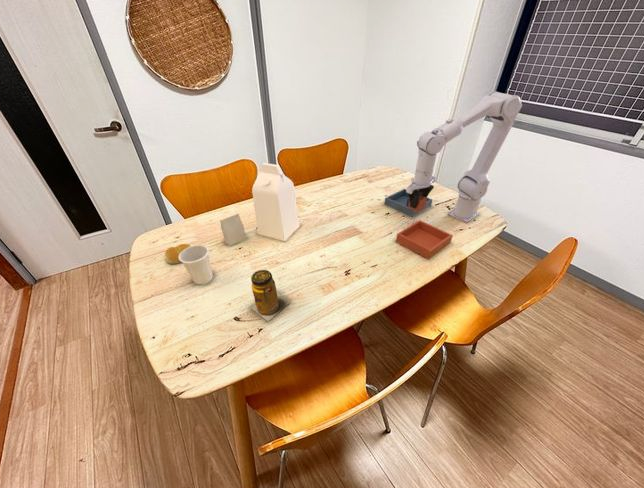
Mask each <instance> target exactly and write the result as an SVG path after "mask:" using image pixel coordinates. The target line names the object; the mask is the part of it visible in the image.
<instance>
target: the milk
mask: <svg viewBox="0 0 644 488" xmlns="http://www.w3.org/2000/svg"><path fill="white" fill-rule="evenodd" d="M251 193H252V202H253V207H254V216H255V222H256V230H257V235H259V236H264V237H267V238H271V239H275V240H278V241H282V242H286V241H287V240H288V239H289V238H290V237H291V236H292V235H293V234H294V232H296V230H297V229H299V228H300V226H301V224H300V219H299V211H298V204H297V197H296V190H295V184H294V182H293V180H292V179H290V177H287V176H286V175H285V174H284V173H283V171H282V170H281V167H280V165H279V164H275V163H268V162H262V163H261V165H260V170H259V173H258V175H257V177H256V179H255V181H254V183H253V185H252V189H251Z"/></svg>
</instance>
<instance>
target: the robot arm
mask: <svg viewBox="0 0 644 488" xmlns="http://www.w3.org/2000/svg"><path fill="white" fill-rule="evenodd" d="M522 107H523V103H522V99H521V97H520V96H519V95H517V94H516V95H515V94H510V93H509V94H508V93H503V92H499V91H497V90H493V91H491V92H489V93H488V94H486V95H485V96H483V97H482V98H481V100H480V102H478V103H477V104H476V105H474V106H472V107H471V108H470V109H469V110H467V111H466V112H465V113H463V114H462V115H460V116H459V117H458V118H456V117H455V118H454V117H452V118H447V119H446V120H445V122H444V123H443V124H441V125H439V126H437V127H434V128H433V129H432V130H431V131H426V132H424V133H423V134H421V135H420V136H419V138H418V140H417V141H416V146H417V148H418V151H417V154H418V155H417V161H416V167H415V171H414V177H413V178H411V179H410V182H411V183H410V184H409V185H408V186H407V187H406V189H407V190H406V192H407V193H408V195H409V199H410V207H412V208H414V209H415V208H416V207H417V204H418V201H419V199H420V197H421V195H422V196H424V197H427V198H428V196H429V195H430V194H431V192H432V190H433V189H434V188H435V186H434V185H433V184H434V183H435V181H436V176H433V174H434V169H435V164H436V160H437V155H438V154H439V153H440V152H441V151H442V149H444V148H443V147H445V146H446V144H447V143H449V142H450V141H452V140H454V139H455V138H457V137H458V136H460V135H462V132H463V129H464V128H466V127H468V126H470V125H471V124H473V123H475V122H476V121H479V120H481V119H482V118H484V117H489V118H490V120H491V123H492V127H491V129H490V131H489V133H488V135H487V137H486V139H485V142H484V143H483V146H482V147H481V150H480V151H479V154H478V155H477V157H476V159H475V162H474V164H473V166H472V168H471V169H469V170H467V171H465V172H464V173H463V175H462V177H461V178H460V179H459V180H458V181H457V186H456V188H457V190H458V197H457V200H456V203H455V207H454V210H453V211H451V212H450V213H449V215H450V216H452V217H454V218H457V219H460V220H462V221H464V223H468V222H470V221H471V220H473V219H474V218H475V217H477V216H478V215H479V213H478V212H477V211H478V209H479V206H480V205H481V204H480V203H481V201H482V198H483V197H484V196H485V195H486V194H487V192H488V187H489V185H490V179H489V175H488V173H489V171H490V169H491V167H492V166H493V164H494V161H495V159H496V158H497V156H498V153H499V152H500V150H501V148H502V146H503V145H504V142H505V140H506V138H507V137H508V135H509V133H510V131H511V129H512V128H513V125H514V124H515V121H516V118H517V116H518V115H519V113H520V111H521V108H522Z"/></svg>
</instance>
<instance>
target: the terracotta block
mask: <svg viewBox="0 0 644 488" xmlns="http://www.w3.org/2000/svg"><path fill="white" fill-rule="evenodd" d="M427 198H428V196H427V197H424V196H422V195H421V197H420V199H419V201H418V204H417V207H416V208H415V209H414V208H412V207H410V199H409V205H408V208H410V209H412V210H414V211H417V212H419V211H420V210H422V209H424V208H425V204H426V200H427Z"/></svg>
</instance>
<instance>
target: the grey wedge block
mask: <svg viewBox="0 0 644 488" xmlns="http://www.w3.org/2000/svg"><path fill="white" fill-rule="evenodd" d="M220 229H221V232H222V235H223V239H224V242H225V243H226V244H227V246H229V247H231V246H233V245H236V244H238V243H241V242H243V241H245V240H247V235H246V231H245V228H244V224H243V222H242V219H241V217H240V214H239V213H236V214H233V215H231V216H228V217H226V218H223V219H220Z"/></svg>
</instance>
